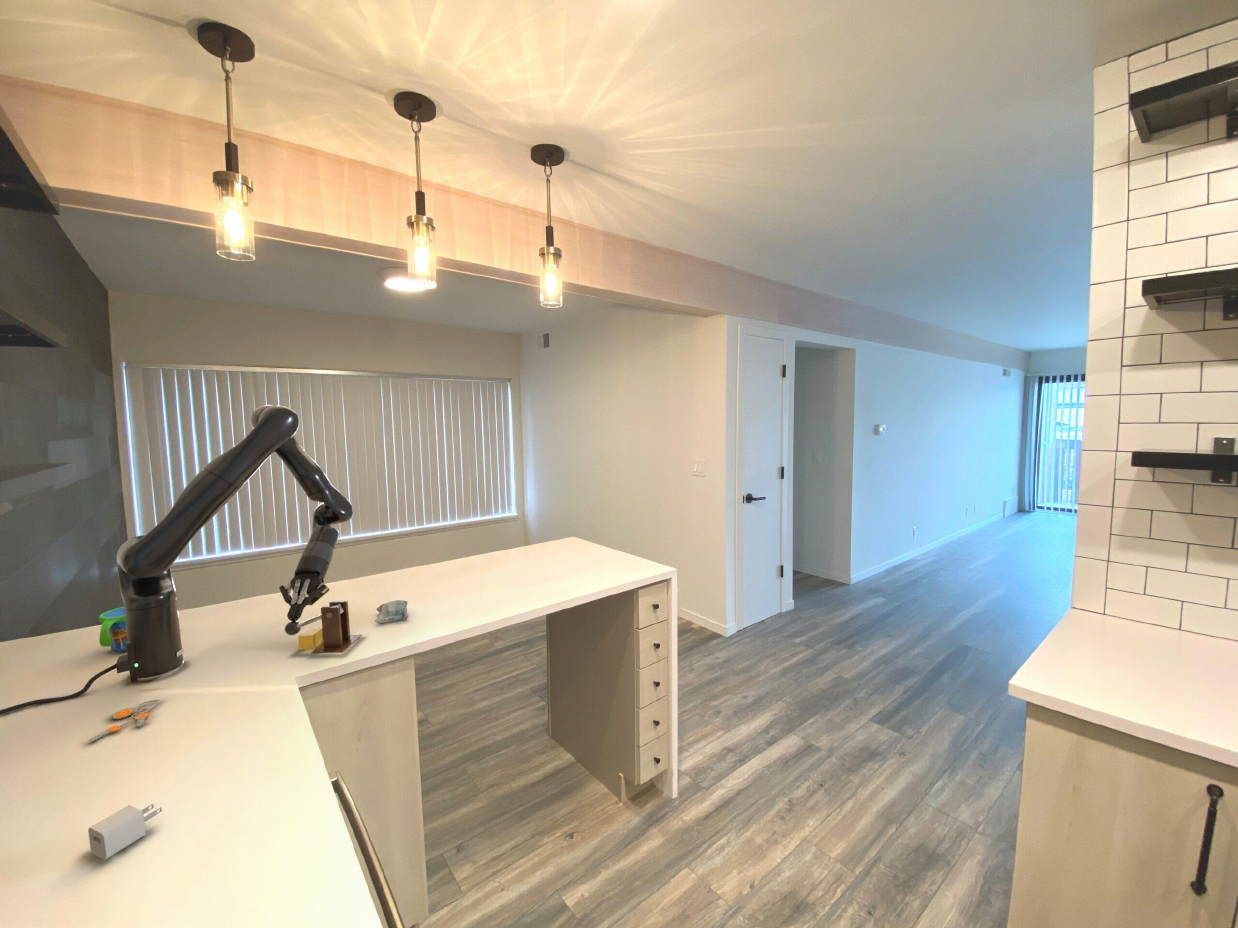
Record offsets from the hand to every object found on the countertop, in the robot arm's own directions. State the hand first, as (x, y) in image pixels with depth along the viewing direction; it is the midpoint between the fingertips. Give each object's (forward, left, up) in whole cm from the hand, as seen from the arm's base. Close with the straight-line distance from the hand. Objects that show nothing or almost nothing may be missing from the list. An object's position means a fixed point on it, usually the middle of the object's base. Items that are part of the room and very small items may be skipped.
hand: (292, 619), depth 132 cm
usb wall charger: (-26, -56, -8) cm, 62 cm away
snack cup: (-34, +31, -8) cm, 47 cm away
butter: (+4, -3, -8) cm, 9 cm away
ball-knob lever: (+5, -4, -2) cm, 6 cm away
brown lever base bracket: (+9, -7, -8) cm, 14 cm away
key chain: (-30, -16, -8) cm, 35 cm away
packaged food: (+25, +3, -8) cm, 26 cm away
